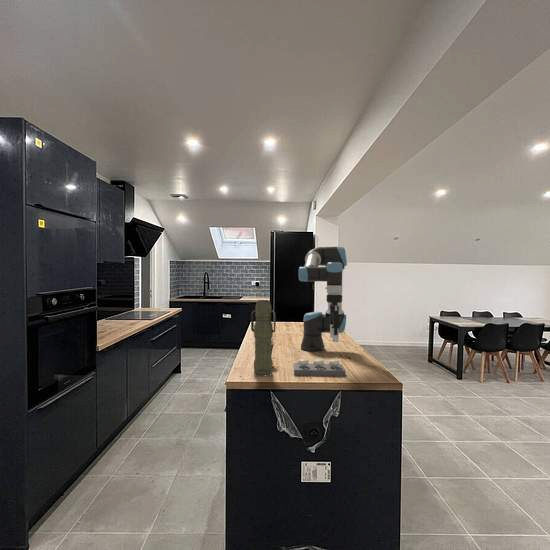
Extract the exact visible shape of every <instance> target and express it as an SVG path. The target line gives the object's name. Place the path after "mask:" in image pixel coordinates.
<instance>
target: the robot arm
mask: <svg viewBox="0 0 550 550" xmlns="http://www.w3.org/2000/svg"><path fill="white" fill-rule="evenodd" d="M346 253H347V252H346V249H345V248H344V247H343V246H319V247H318V246H317V247H315V248H313V249H310V250H309V251H308V252H307V253H306V255H305V257H304V262H305V263H304V265H303V266H299V268H298V281H300V282H326V287H325V290H326V293H327V295H326V303H327V309H326V310H325V313H323V312H322V311H311V312H306V313H305V314H304V315H303V320H302V321H303V322H302V323H303V337H302V341H301V344H300V349H301V350H303V351H306V352H320V351H324V350H325V349H326V348H325V347H326V346H325V343H324V339H323V333H325V334H326V333H327V334H329V338H330V339H332V343H339V342H340V341H339V334H343V333H344V332H345V330H346V325H347V314H345V311H344V310H343V309H342V308H343V307H342V306H343V305H342V302H343V271H344V270H345V269H346V268H345V267H346V266H348V260H347V254H346Z"/></svg>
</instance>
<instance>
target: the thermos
mask: <svg viewBox="0 0 550 550" xmlns="http://www.w3.org/2000/svg"><path fill="white" fill-rule="evenodd" d="M272 313H273V323H272ZM254 315H255V317H254ZM276 315H277V314H276V312H275V310H273V309H272V304H271V302H270V301H269V300H268V299H259V300H257V301H256V304H255V310H254V309H253V310H252V311H251V313H250V323H251V324H250V327H251V329H250V330H251V331H252V332H253V337H254V342H255V343H254V361H253V374H254V375H255V374H256V375H255V376H257V375H269V376H271V375H273V359H272V355H271V341H272V338H273V333H276V323H277V322H276V321H277V320H276V319H277V318H276ZM254 318H255V319H254ZM254 322H255V323H254ZM270 374H271V375H270Z"/></svg>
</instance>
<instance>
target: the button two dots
mask: <svg viewBox="0 0 550 550" xmlns="http://www.w3.org/2000/svg"><path fill="white" fill-rule="evenodd" d="M297 364H299V365H301V367H302V368H306V365H308V364H309V359H307V358H306V359H305V358H299V359H298V360H297Z"/></svg>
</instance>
